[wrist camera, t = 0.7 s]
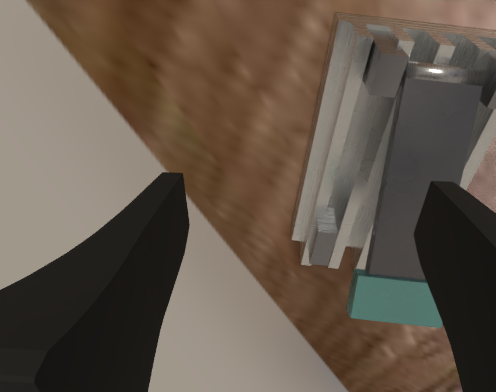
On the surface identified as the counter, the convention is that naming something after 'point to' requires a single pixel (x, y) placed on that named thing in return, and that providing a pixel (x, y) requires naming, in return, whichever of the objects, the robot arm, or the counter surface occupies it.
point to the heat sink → (374, 125)
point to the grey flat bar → (414, 189)
